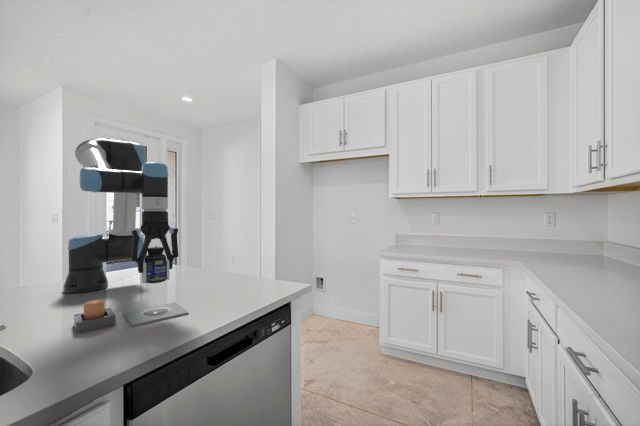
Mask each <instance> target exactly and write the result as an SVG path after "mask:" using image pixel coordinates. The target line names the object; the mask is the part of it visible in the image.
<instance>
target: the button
mask: <svg viewBox="0 0 640 426" xmlns="http://www.w3.org/2000/svg"><path fill="white" fill-rule="evenodd" d="M105 303H106V300H104V299H95V300H90V301H86V302H84V303H83V313H84V320H87V319H92V318H97V317H102V316H105V309H106V305H105Z"/></svg>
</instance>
